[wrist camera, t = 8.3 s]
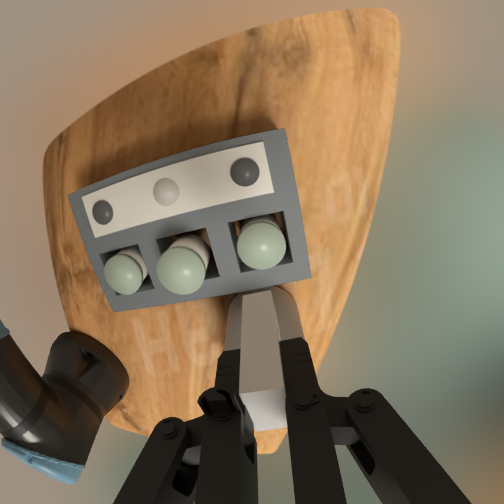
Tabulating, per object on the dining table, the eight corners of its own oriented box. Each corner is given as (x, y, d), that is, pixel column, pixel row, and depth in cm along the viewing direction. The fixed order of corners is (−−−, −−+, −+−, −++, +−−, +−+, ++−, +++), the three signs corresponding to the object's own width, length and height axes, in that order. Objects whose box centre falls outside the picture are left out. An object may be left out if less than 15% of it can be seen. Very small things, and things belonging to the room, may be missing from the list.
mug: (248, 271, 31) (246, 333, 21) (311, 301, 32) (332, 365, 22) (206, 342, 35) (192, 407, 25) (261, 364, 36) (264, 428, 26)
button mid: (177, 276, 27) (166, 298, 23) (164, 238, 26) (149, 255, 22) (216, 268, 27) (210, 290, 23) (204, 228, 25) (196, 244, 21)
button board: (127, 292, 32) (113, 312, 28) (89, 187, 27) (67, 194, 23) (303, 259, 30) (311, 277, 26) (279, 131, 25) (284, 128, 21)
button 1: (244, 255, 29) (243, 273, 25) (235, 216, 27) (231, 229, 23) (284, 247, 28) (289, 264, 24) (276, 207, 27) (281, 219, 23)
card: (96, 237, 24) (94, 238, 24) (83, 196, 23) (80, 197, 22) (273, 191, 23) (274, 192, 22) (262, 141, 21) (263, 141, 21)
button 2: (128, 278, 30) (113, 297, 26) (116, 245, 28) (98, 261, 24) (159, 272, 29) (146, 291, 25) (147, 237, 28) (131, 252, 24)
